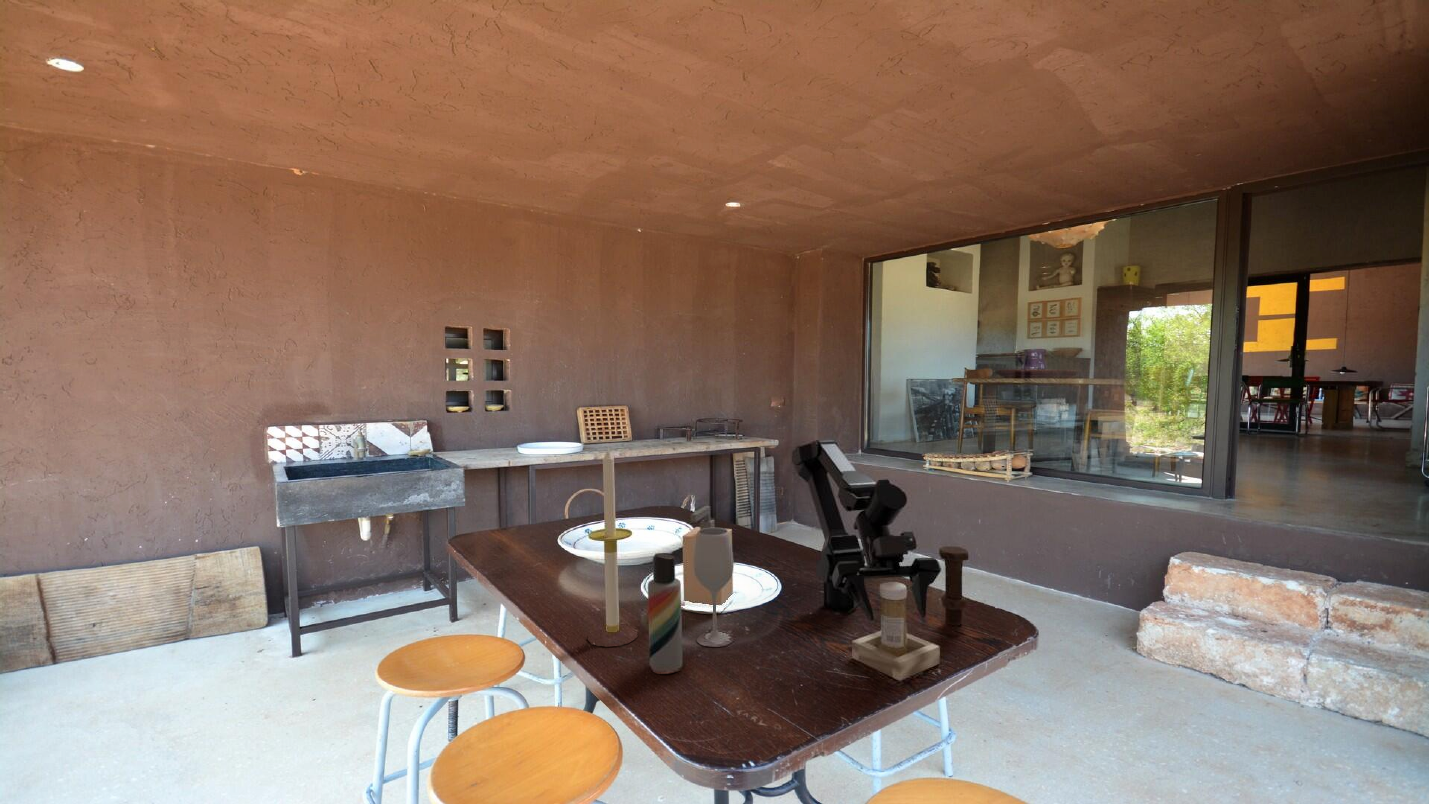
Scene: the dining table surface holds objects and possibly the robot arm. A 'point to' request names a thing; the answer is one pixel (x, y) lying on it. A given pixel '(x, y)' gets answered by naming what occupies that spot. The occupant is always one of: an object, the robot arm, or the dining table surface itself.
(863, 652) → the collar
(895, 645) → the sprinkles bottle
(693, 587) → the soap dispenser
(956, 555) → the bolt
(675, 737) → the dining table surface
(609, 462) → the candle
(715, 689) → the dining table surface
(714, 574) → the wineglass
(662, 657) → the lotion bottle
